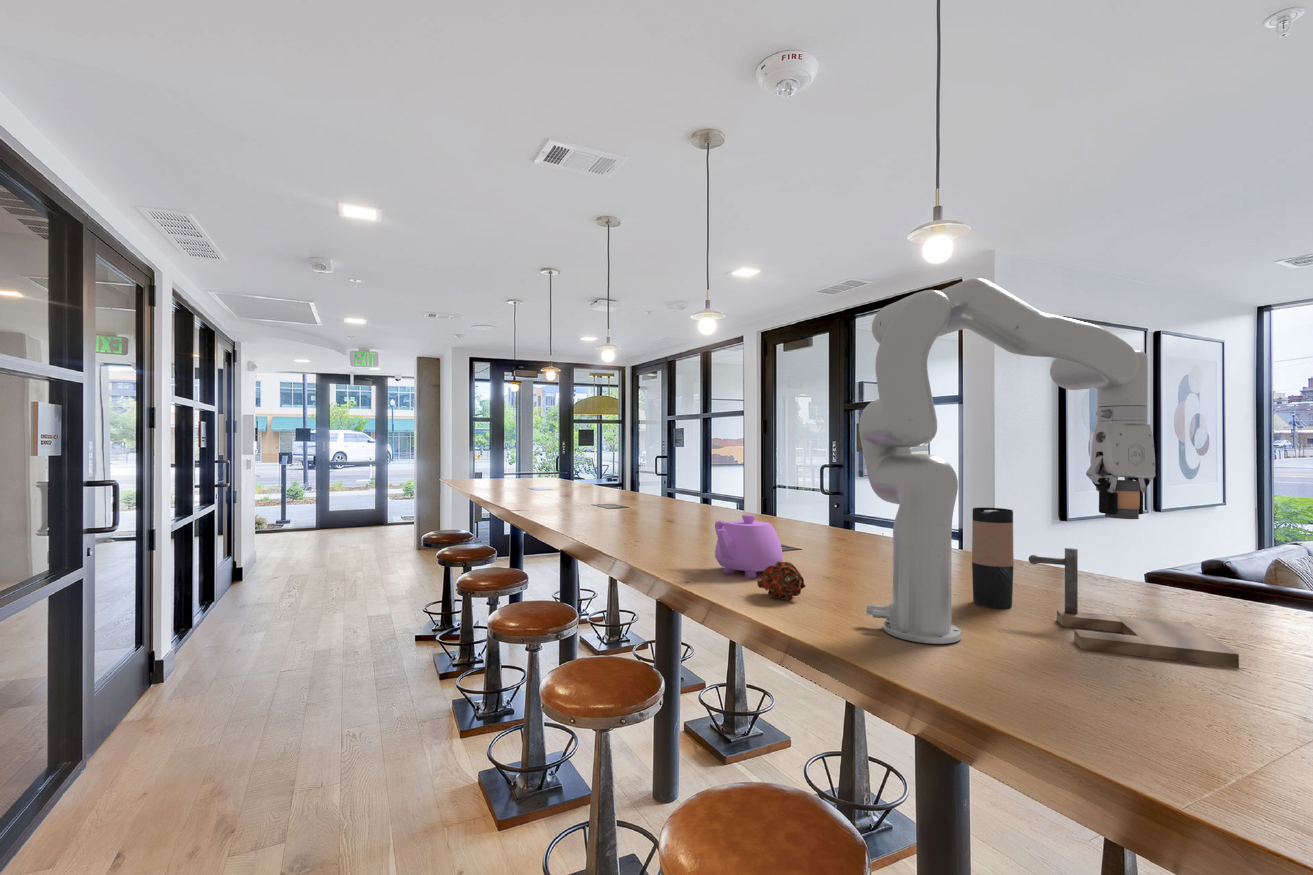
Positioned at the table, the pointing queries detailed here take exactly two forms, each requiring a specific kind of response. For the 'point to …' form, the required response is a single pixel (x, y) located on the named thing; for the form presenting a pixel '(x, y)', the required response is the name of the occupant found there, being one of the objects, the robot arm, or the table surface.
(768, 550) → the teapot
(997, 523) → the travel mug
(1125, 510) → the coffee cup
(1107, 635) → the grey frame with post
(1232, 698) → the table surface
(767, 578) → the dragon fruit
